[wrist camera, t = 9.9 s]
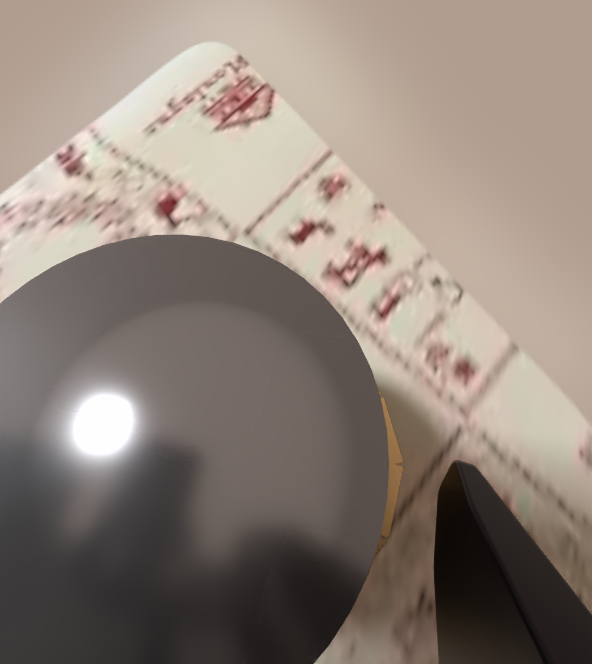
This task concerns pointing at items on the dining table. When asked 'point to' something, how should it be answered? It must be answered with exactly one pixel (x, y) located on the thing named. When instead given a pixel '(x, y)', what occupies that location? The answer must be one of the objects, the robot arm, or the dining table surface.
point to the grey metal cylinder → (182, 460)
